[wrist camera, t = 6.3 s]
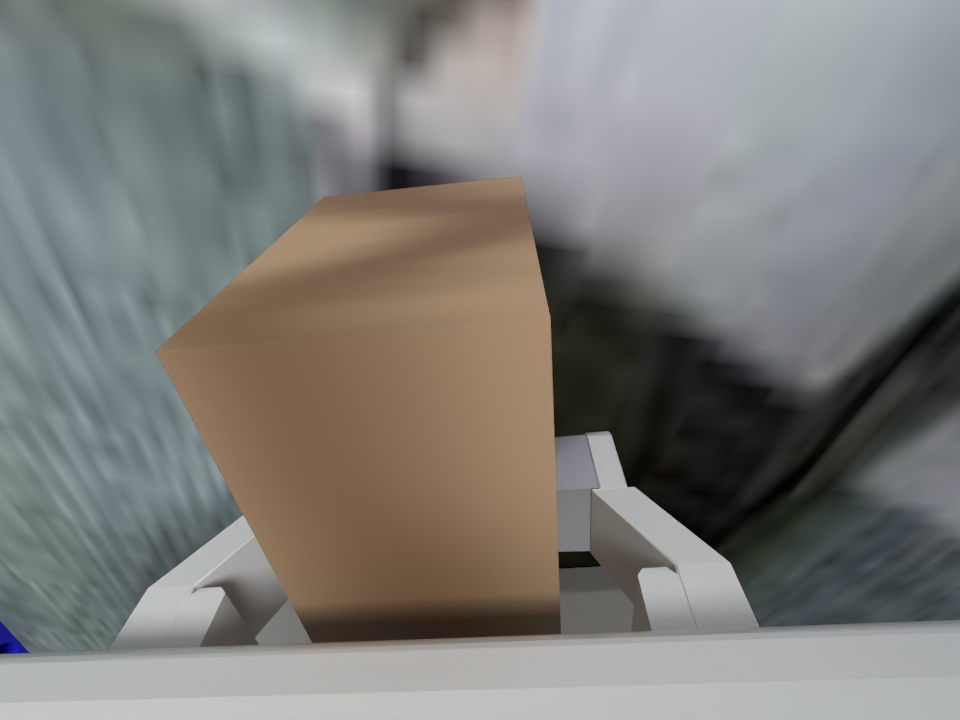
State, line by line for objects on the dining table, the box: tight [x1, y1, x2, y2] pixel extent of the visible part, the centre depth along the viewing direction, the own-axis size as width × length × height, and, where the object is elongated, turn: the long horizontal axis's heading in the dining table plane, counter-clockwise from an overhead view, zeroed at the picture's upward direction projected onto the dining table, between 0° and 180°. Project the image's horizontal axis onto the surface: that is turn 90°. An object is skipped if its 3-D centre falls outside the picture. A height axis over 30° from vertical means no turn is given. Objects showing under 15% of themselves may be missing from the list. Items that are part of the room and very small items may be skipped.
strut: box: [155, 176, 561, 643], centre depth 10 cm, size 4×11×7 cm, turn 6°
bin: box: [255, 567, 634, 645], centre depth 20 cm, size 18×12×5 cm, turn 96°
